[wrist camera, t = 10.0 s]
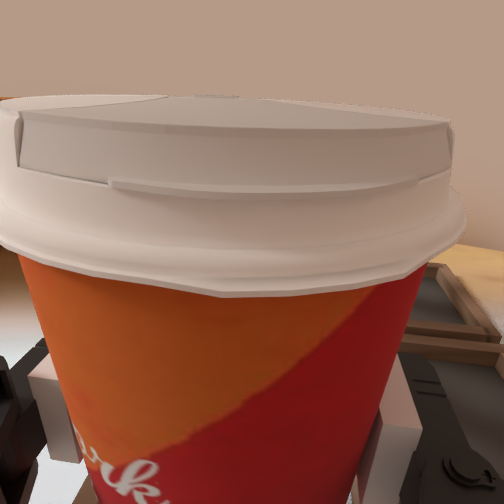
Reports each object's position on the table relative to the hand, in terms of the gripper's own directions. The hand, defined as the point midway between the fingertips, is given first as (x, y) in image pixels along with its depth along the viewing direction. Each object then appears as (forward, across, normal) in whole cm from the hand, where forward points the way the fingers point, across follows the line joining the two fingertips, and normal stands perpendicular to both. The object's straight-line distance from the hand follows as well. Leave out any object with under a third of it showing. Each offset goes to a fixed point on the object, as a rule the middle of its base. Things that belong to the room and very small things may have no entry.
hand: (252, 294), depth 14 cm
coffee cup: (-5, 0, -8) cm, 10 cm away
